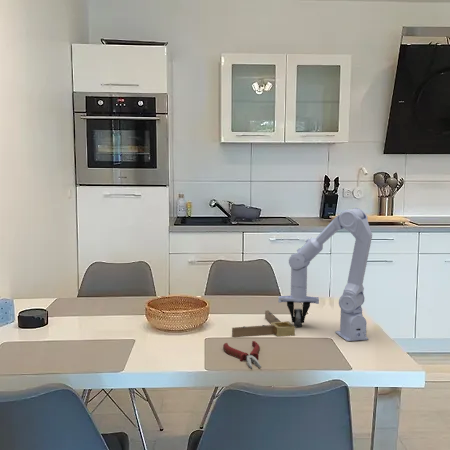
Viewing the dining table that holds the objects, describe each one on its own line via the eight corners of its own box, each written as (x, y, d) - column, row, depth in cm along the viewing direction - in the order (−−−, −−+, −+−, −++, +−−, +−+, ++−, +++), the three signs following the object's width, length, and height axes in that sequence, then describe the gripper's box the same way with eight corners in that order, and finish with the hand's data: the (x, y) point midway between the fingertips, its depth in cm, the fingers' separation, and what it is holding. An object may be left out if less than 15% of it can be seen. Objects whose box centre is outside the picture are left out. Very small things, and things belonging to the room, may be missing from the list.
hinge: (294, 335, 188) (294, 326, 187) (234, 339, 183) (234, 330, 182) (274, 317, 208) (274, 309, 208) (220, 321, 203) (220, 312, 203)
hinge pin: (303, 326, 196) (303, 310, 196) (295, 327, 196) (295, 311, 195) (300, 324, 199) (300, 308, 199) (292, 324, 199) (292, 308, 198)
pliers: (237, 373, 155) (237, 364, 155) (222, 349, 175) (222, 341, 174) (275, 370, 158) (275, 361, 157) (256, 347, 177) (256, 339, 177)
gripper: (318, 283, 199) (317, 319, 201) (278, 282, 201) (278, 318, 202) (319, 288, 192) (318, 325, 194) (278, 286, 194) (277, 323, 195)
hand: (298, 321), depth 197 cm, fingers closed on hinge pin, 3 cm apart
